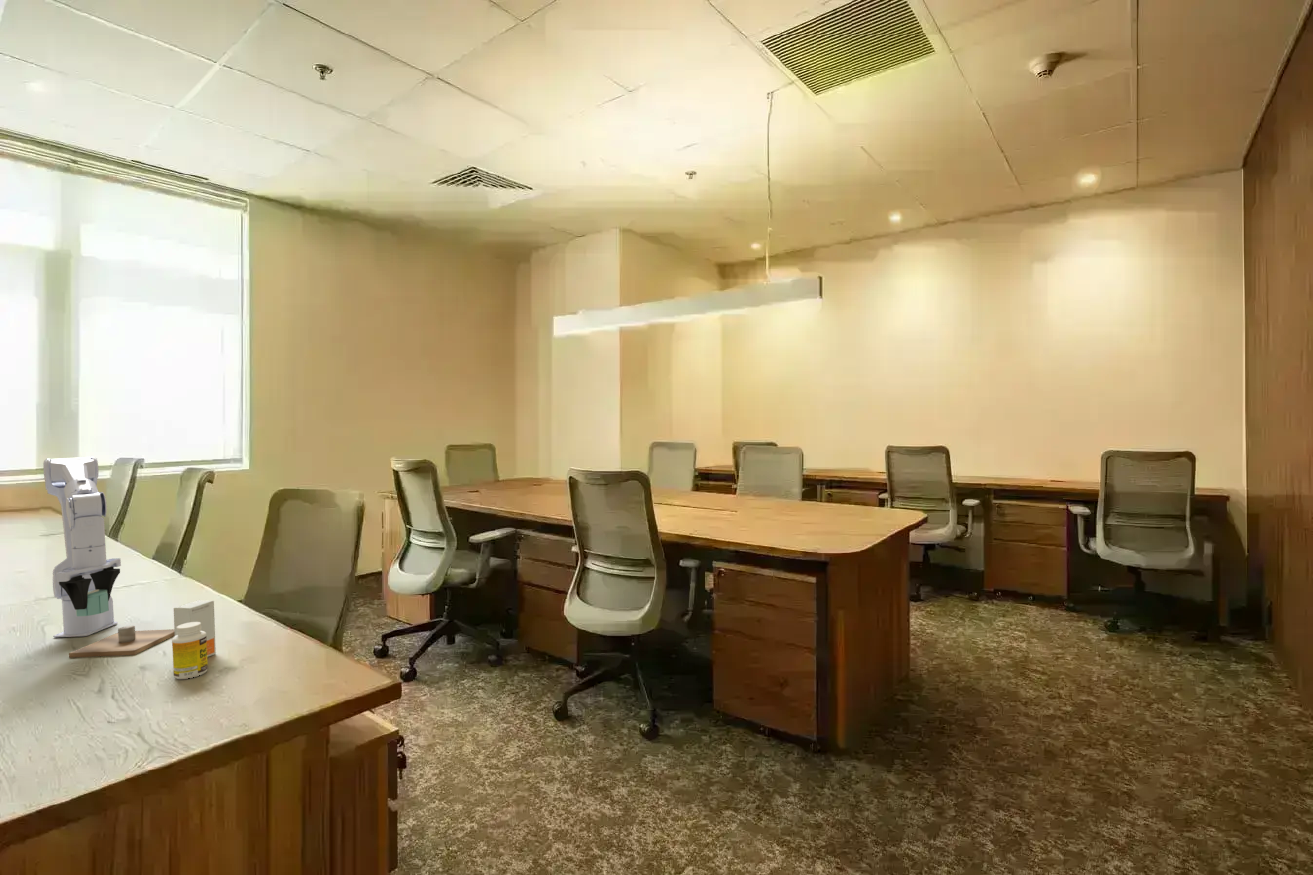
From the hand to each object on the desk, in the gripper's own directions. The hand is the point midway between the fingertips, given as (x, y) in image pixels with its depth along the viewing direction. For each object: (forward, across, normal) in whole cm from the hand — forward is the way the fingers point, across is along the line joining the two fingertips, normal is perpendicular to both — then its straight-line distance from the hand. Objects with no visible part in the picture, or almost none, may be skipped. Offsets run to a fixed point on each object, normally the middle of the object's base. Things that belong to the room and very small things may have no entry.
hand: (92, 605), depth 143 cm
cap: (+2, 0, 0) cm, 2 cm away
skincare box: (+10, -9, -29) cm, 32 cm away
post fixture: (+10, +2, -6) cm, 12 cm away
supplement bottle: (+10, -18, -34) cm, 40 cm away
